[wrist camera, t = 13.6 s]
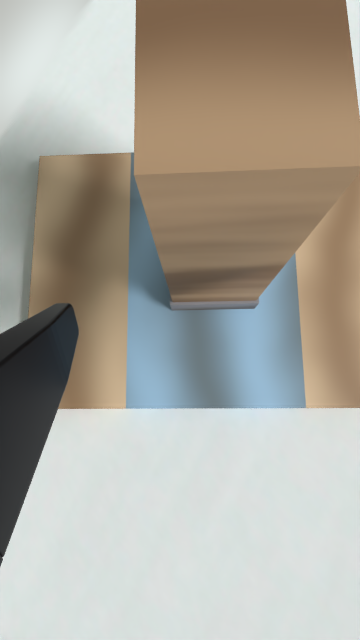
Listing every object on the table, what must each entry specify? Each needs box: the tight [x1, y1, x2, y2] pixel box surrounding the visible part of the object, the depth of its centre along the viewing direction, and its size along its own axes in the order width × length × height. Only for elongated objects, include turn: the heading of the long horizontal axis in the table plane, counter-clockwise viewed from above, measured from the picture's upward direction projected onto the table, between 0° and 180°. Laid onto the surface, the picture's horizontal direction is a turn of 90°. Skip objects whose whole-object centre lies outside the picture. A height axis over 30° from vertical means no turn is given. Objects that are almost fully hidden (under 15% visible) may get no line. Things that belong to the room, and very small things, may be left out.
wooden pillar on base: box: [134, 0, 360, 311], centre depth 13 cm, size 5×5×13 cm
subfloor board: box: [28, 153, 360, 409], centre depth 20 cm, size 22×16×1 cm
